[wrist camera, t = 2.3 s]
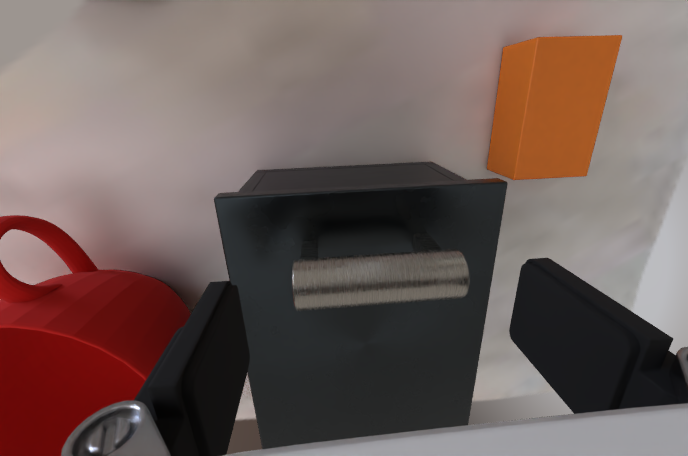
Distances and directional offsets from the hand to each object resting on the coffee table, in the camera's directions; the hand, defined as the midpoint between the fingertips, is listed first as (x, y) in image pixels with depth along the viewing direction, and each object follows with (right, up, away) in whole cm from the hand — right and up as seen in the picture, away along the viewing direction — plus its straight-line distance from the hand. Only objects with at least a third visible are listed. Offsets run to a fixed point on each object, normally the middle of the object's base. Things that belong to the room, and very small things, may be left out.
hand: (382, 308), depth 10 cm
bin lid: (0, -3, +7) cm, 7 cm away
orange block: (+12, +11, +12) cm, 20 cm away
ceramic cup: (-18, -2, +15) cm, 23 cm away
